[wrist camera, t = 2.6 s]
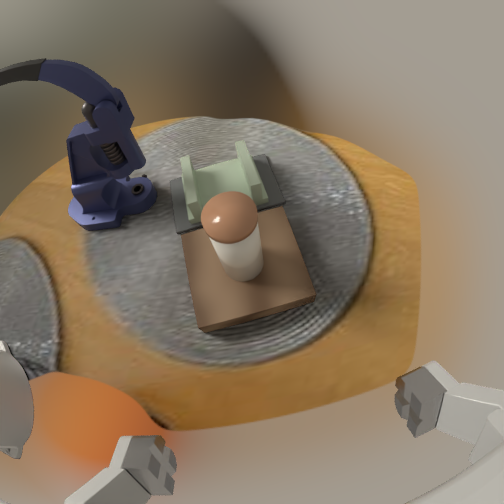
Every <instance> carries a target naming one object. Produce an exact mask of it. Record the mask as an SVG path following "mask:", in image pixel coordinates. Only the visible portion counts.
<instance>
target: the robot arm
mask: <svg viewBox="0 0 504 504" xmlns="http://www.w3.org/2000/svg"><path fill="white" fill-rule="evenodd" d="M395 386H396V387H397V389H398V391H397V392H396V394H395V405H396V409H397V411H398V413H399V415H400V416H401V418H404V419H406V420H408V421H407V427H408V428H409V430H410V431H411V433H412V434H413V436H414V437H415V438H416V437H418V436H420V435H422V434H424V433H426V432H428V431H430V430H432V429H434V428H436V429H437V430H439V431H442V432H444V433H446V434H449V435H452V436H454V437H456V438H458V439H461V440H463V441H466V442H468V443H471V444H474V445H475V446H474V448H473V450H472V452H471V454H470V456H469V461H470V463H471V464H472V465H471V466H470V467H468V468H467V469H466V470H464V471H462V472H461V473H459V474H458V475H456V476H454V477H453V478H451V479H449V480H448V481H446V482H444V483H443V484H441V485H439V486H438V487H436V488H434V489H432V490H431V491H429V492H427V493H425V494H423V495H421V496H419V497H417V498H415V499H413V500H411V501H409V502H407V503H405V504H504V390H500V389H494V388H489V387H484V386H479V385H474V384H469V383H464V382H462V383H461V384H459V383H458V382H457V381H456V380H455V379H454V378H453V377H452V376H451V375H450V374H449V373H448V372H447V371H446V370H445V369H444V368H443V367H442V366H441V365H440V364H438V363H437V362H436V361H431V362H429V363H427V364H425V365H423V366H421V367H419V368H417V369H415V370H412V371H410V372H408V373H406V374H404V375H402V376H399V377H397V379H396V385H395ZM33 421H34V406H33V397H32V392H31V388H30V384H29V381H28V379H27V376H26V374H25V372H24V370H23V368H22V366H21V365H20V364H19V362H18V361H17V360H16V359H15V358H14V357H13V356H12V355H11V353H10V350H9V347H8V345H7V343H6V342H5V341H0V451H2V452H3V453H5V454H7V455H9V456H11V457H12V458H15V459H20V458H21V455H22V449H23V445H24V444H25V442H26V441H27V440H28V438H29V436H30V434H31V431H32V428H33ZM176 466H177V464H176V458H175V455H174V453H173V452H172V450H171V449H170V448H168V447H166V446H165V440H164V439H163V438H162V436H159V435H154V436H153V435H152V436H122V437H120V438H119V441H118V443H117V446H116V449H115V452H114V454H113V457H112V460H111V463H110V466H109V468H104V469H103V470H102V471H101V472H99V473H98V474H97V475H96V476H95V477H93V478H92V479H91V480H89V481H88V482H87V483H86V484H84V485H83V486H82V487H80V488H79V489H78V490H77V491H75V492H74V493H73V494H71V495H70V496H69V497H67V498H66V499H65V502H64V504H146V502H147V501H148V500H149V499H150V497H151V495H173V489H174V482H175V481H174V480H173V478H172V477H171V476H172V475H173V474H174V473H175V472H176ZM0 504H9V503H7V502H5V501H3V500H2V499H0Z"/></svg>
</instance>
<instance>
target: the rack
mask: <svg viewBox="0 0 504 504" xmlns="http://www.w3.org/2000/svg"><path fill="white" fill-rule="evenodd" d="M235 145H236V150H237V155H238V158H236V159H233V160H229V161H225V162H222V163H218V164H215V165H211V166H208V167H204V168H201V169H198V170H194V168H193V165H192V162H191V160H190V157H189V155H188V156H185V157H182V158H180V160H181V167H182V174H181V175H182V182H183V188H184V194H185V200H186V207H187V212H188V218H189V222H190V223H191V224H194V223H198V222H201V213H202V210H203V208H204V206H205V204H206V203H207V202H208V201H209V200H210V199H211V198H213V197H214V196H216V195H218V194H220V193H223V192H229V191H236V192H241V193H244V194H246V195H248V196H249V197H250V198H251V199H252V200H253V201H254V202H255V204H256V206H257V205H261V204H265V203H268V202H269V201H268V196H267V193H266V191H265V188H264V185H263V183H262V180H261V178H260V175H259V173H258V170H257V168H256V165H255V163H254V160H253V158H252V155H250V154H249V152H248V149H247V147H246V144H245V142H244V140H242V141H238V142H235Z"/></svg>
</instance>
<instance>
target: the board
mask: <svg viewBox="0 0 504 504" xmlns="http://www.w3.org/2000/svg"><path fill="white" fill-rule="evenodd" d="M258 227H259V234H260V240H261V247H262V253H263V260H264V264H263V268H262V270H261V272H260V273H259V275H258V276H256V277H255V278H254V279H252V280H249V281H244V282H240V281H236V280H233V279H231V278H230V277H229V276H228V275H227V274H226V272H225V270H224V268H223V266H222V264H221V262H220V260H219V257H218V255H217V253H216V251H215V249H214V247H213V244H212V242H211V240H210V238H209V236H208V235H207V234H206V232H205V230H204V228H202V229H199V230H196V231H192V232H189V233H186V234H182V235H181V238H182V244H183V250H184V256H185V262H186V268H187V274H188V279H189V284H190V290H191V295H192V300H193V305H194V310H195V315H196V320H197V325H198V328H199V329H200V330H202V331H203V332H204V333H206V332H210V331H214V330H218V329H222V328H226V327H229V326H233V325H237V324H240V323H244V322H248V321H251V320H255V319H258V318H262V317H265V316H269V315H272V314H276V313H279V312H282V311H286V310H289V309H292V308H295V307H299V306H302V305H305V304H308V303H311V302H314V300H315V297H316V292H315V289H314V287H313V284H312V281H311V279H310V276H309V273H308V270H307V268H306V265H305V262H304V260H303V257H302V255H301V252H300V249H299V247H298V244H297V242H296V239H295V236H294V234H293V231H292V229H291V226H290V224H289V221H288V219H287V216H286V214H285V211H284V209H283V206H281V207H277V208H273V209H270V210H266V211H262V212H259V213H258Z"/></svg>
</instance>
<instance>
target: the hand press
mask: <svg viewBox="0 0 504 504" xmlns="http://www.w3.org/2000/svg"><path fill="white" fill-rule="evenodd" d="M22 80H28V81H38V80H41V81H46V82H50V83H52V84H55V85H57V86H60V87H62V88H64V89H66V90H68V91H70V92H72V93H74V94H75V95H77V96H78V97H80V98H82V99H83V100H85V101H86V102H85V103H84V104H83V106H82V114H83V115H84V117H85V119H86V120H87V121H85V122H82V123H80V124H77V125H75V126H74V127H73V129H72V131H71V133H70V134H69V136H68V138H67V150H68V157H69V165H70V171H71V178H72V188H71V190H72V193H73V195H74V197H73V199H72V200H71V202H70V204H69V208H68V213H69V215H70V216H71V217H72V218H73V219H74V220H75V221H76V222H77V223H78V224H79V225H80V226H81V227H83V228H84V229H85V230H88V231H93V230H101V229H108V228H116V227H119V226H120V224H121V220H122V217H123V216H125V215H131V214H139V213H142V212H145V211H146V210H148V209H149V208H150V207H152V205H153V204H154V203H155V201H156V198H157V192H156V190H155V188H154V186H153V184H152V183H151V181H150V180H149V179H148V178H147V175H142V177H138V178H132V179H130V177H129V176H128V175H130V174H131V173H132V172H133V171H134V170H136V169H140V168H142V167H143V166H144V165H145V163H146V159H145V157H144V155H143V153H142V151H141V149H140V147H139V145H138V143H137V141H136V140H135V138H134V136H133V134H132V132H131V130H130V128H131V125H132V123H133V121H134V116H133V114H132V112H131V110H130V108H129V105H128V103H127V101H126V99H125V97H124V95H123V93H122V92H121V90H120V89H117V88H113V87H112V86H111V85H110V84H109V83H108V82H107V81H106V80H105V79H103V78H102V77H101V76H99V75H98V74H96V73H95V72H94V71H92V70H91V69H89V68H87V67H85V66H83V65H81V64H78V63H75V62H70V61H64V60H46V58H45V59H37V60H30V61H26V62H21V63H17V64H13V65H10V66H8V67H5V68H2V69H0V86H1V85H4V84H7V83H10V82H16V81H22Z"/></svg>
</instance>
